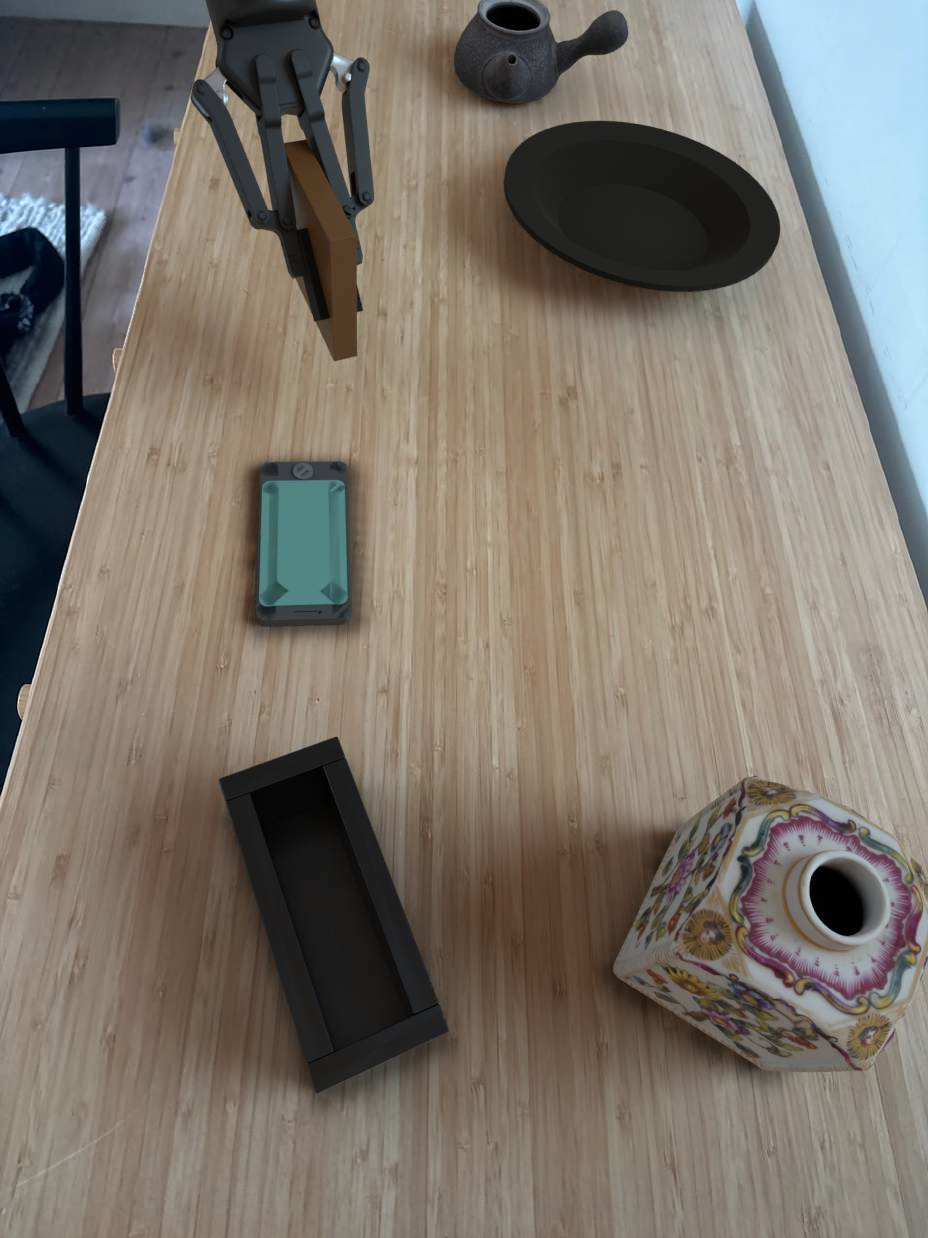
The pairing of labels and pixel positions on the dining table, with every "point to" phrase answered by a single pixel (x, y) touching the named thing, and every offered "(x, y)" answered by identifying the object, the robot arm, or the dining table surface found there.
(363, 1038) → the black open box
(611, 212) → the plate
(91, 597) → the dining table surface
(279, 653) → the dining table surface
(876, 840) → the decorative jar
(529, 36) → the teapot
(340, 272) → the thin brown wooden plank
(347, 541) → the smartphone
